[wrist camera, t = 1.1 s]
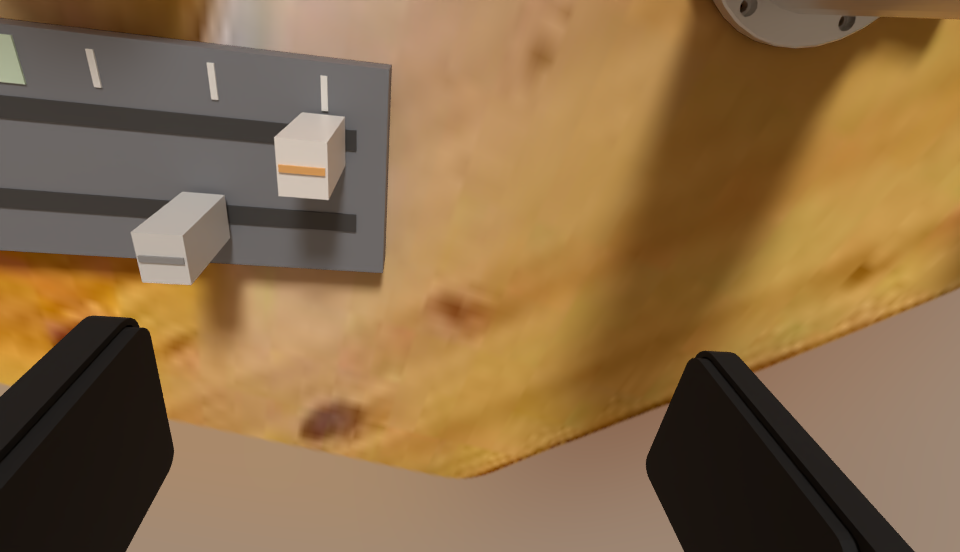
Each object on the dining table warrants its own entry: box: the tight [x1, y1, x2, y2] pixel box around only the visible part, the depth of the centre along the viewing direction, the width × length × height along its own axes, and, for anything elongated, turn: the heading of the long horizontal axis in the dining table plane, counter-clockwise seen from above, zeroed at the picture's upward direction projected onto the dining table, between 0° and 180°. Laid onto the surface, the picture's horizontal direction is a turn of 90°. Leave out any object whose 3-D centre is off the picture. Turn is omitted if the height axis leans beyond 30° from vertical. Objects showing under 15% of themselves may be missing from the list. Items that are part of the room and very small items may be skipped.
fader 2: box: [274, 112, 345, 200], centre depth 22 cm, size 2×2×5 cm
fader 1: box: [131, 192, 230, 285], centre depth 23 cm, size 2×2×5 cm
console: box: [0, 18, 392, 273], centre depth 25 cm, size 26×11×2 cm, turn 83°
